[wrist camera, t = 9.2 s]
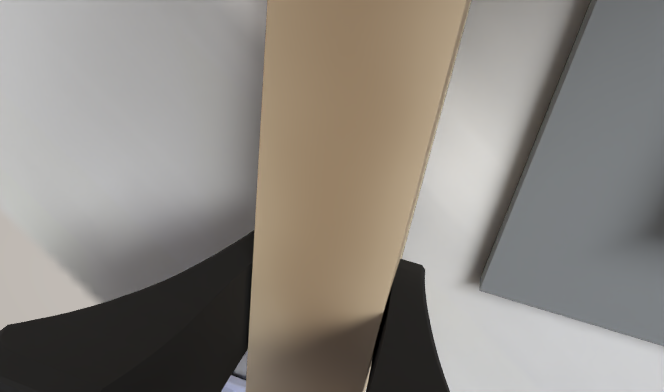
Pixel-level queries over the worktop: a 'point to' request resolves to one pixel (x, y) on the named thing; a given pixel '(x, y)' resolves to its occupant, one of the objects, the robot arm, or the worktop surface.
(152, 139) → the worktop surface
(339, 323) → the tan wooden plank
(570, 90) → the mat
